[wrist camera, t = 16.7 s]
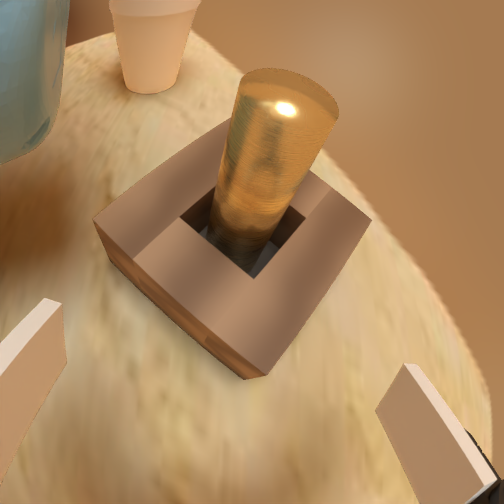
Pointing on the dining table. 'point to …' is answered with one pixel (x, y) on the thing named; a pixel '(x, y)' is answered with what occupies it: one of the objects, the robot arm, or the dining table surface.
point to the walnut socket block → (219, 266)
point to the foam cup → (151, 40)
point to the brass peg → (266, 158)
